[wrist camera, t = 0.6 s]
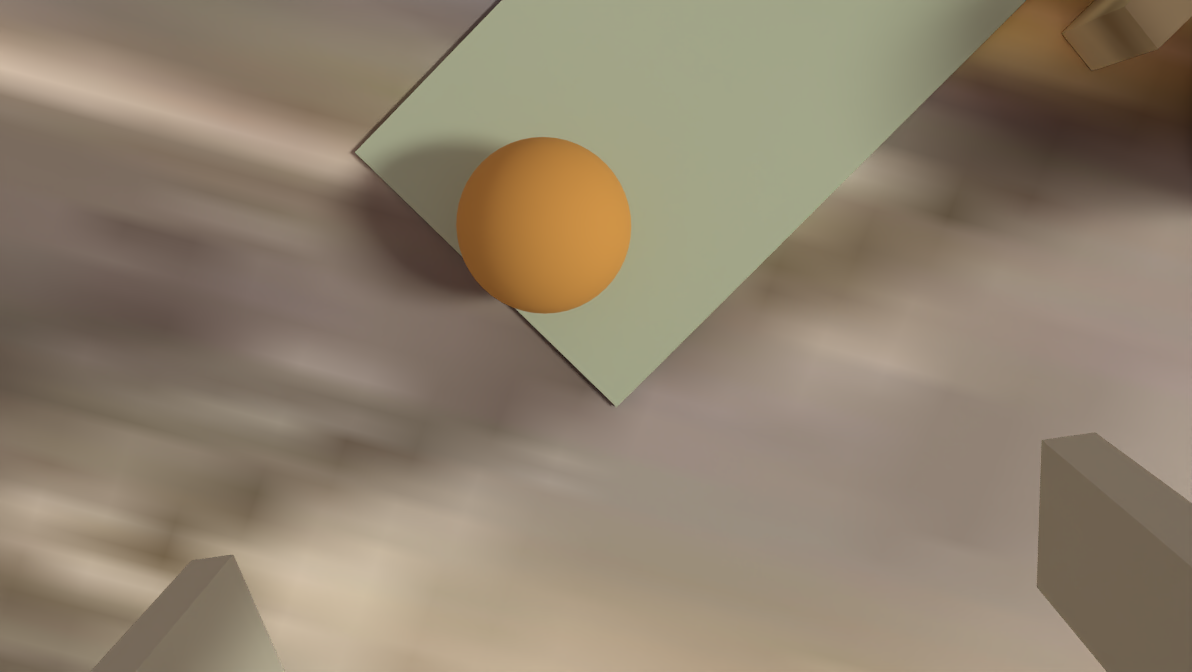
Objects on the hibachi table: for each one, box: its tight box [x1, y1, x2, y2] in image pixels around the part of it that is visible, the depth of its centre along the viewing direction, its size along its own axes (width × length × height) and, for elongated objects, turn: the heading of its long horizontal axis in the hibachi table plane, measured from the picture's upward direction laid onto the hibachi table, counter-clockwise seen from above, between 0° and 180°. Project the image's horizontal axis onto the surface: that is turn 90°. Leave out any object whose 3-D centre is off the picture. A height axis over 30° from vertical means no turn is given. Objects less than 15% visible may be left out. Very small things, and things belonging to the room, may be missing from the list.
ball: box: [456, 137, 631, 314], centre depth 24 cm, size 6×6×6 cm
